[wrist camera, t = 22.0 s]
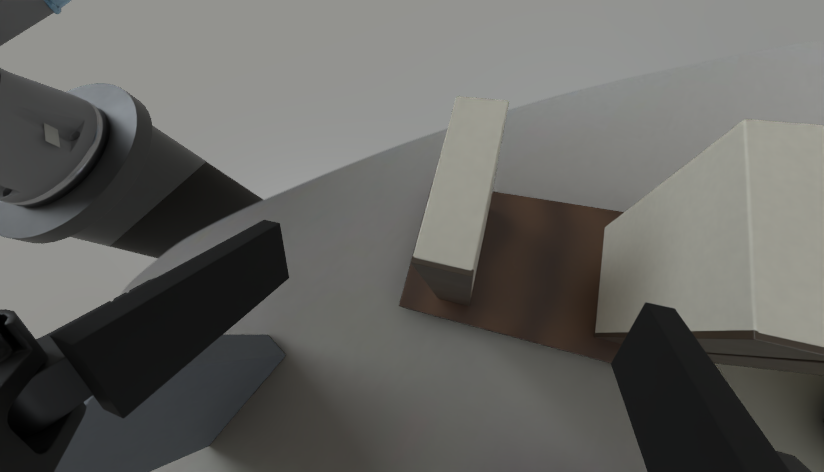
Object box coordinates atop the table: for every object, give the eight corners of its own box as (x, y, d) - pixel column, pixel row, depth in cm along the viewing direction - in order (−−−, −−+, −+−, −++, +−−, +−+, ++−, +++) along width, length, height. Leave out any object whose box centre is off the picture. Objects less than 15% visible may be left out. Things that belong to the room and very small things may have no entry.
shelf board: (402, 307, 24) (398, 305, 23) (434, 189, 27) (432, 182, 26) (685, 383, 20) (702, 387, 18) (686, 231, 23) (701, 224, 21)
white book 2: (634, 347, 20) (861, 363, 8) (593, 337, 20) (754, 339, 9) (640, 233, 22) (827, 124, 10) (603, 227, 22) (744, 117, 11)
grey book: (208, 446, 24) (-64, 564, 11) (191, 421, 24) (-78, 506, 12) (286, 355, 25) (115, 374, 13) (268, 334, 26) (91, 333, 14)
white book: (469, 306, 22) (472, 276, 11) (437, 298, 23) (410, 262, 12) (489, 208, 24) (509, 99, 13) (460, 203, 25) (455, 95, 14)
